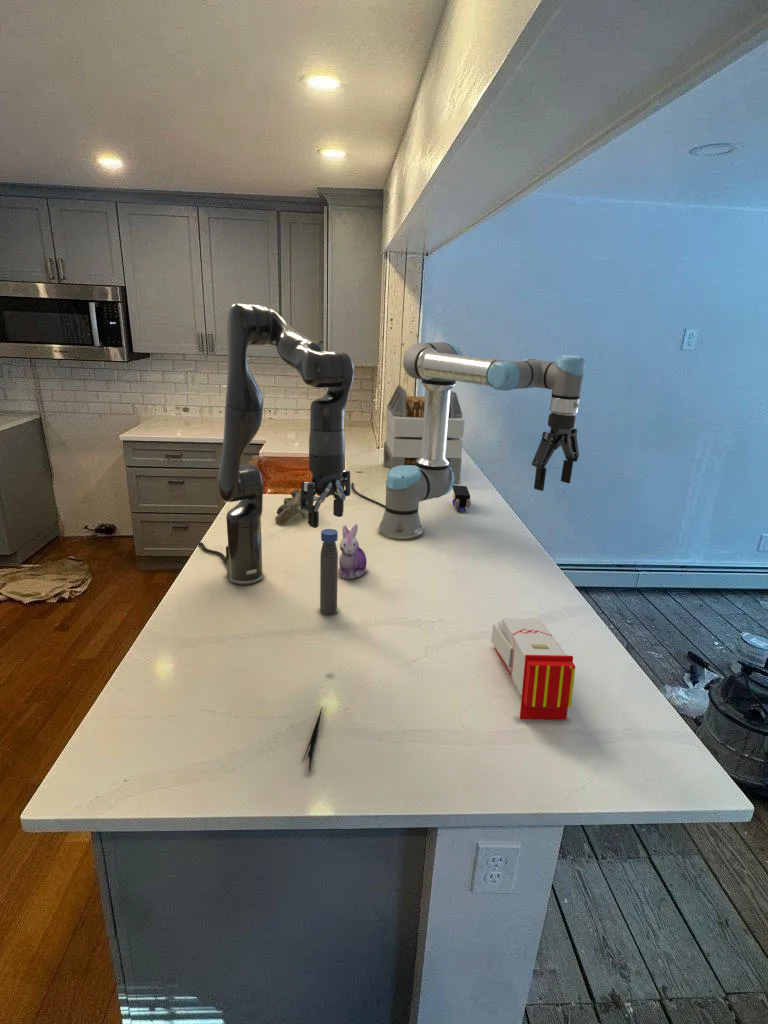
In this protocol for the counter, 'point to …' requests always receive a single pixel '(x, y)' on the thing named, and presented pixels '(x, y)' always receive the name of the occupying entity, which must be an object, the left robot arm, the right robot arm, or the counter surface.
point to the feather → (313, 740)
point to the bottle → (328, 578)
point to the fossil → (290, 507)
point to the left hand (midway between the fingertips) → (326, 521)
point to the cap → (329, 535)
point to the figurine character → (461, 497)
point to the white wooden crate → (419, 431)
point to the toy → (535, 667)
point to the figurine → (351, 555)
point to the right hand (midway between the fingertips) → (552, 485)
